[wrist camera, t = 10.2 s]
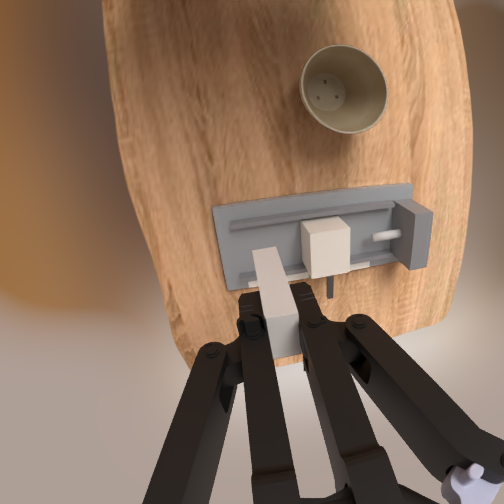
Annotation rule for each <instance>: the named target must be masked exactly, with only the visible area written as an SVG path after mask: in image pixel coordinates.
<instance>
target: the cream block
mask: <svg viewBox="0 0 504 504" xmlns="http://www.w3.org/2000/svg"><path fill="white" fill-rule="evenodd" d="M300 231H301V246H302V261H303V263H304V265H305V267H306V269H307V271H308V273H309V275H310V277H311V279H315V278H321V277H326V276H327V298H328V299H330V298H333V278H334V275H338V274H343V273H348V272H350V227H349V226H348V225H347V224H346V223H345V222H344V221H343V220H342V219H341V218H340V217H338V216H337V215H330V216H322V217H315V218H308V219H301V220H300Z"/></svg>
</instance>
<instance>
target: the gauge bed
mask: <svg viewBox="0 0 504 504" xmlns="http://www.w3.org/2000/svg"><path fill="white" fill-rule="evenodd" d="M412 194H413V185H412V184H410V183H399V184H387V185H376V186H365V187H355V188H345V189H336V190H327V191H319V192H310V193H302V194H294V195H287V196H279V197H272V198H265V199H258V200H251V201H244V202H237V203H231V204H224V205H218V206H212V211H213V217H214V222H215V227H216V233H217V238H218V244H219V249H220V254H221V259H222V264H223V269H224V275H225V280H226V285H227V290H228V291H230V290H237V289H243V288H251V287H257V286H258V281H257V275H256V270H255V264H254V258H253V253H252V251H253V250H259V249H264V248H270V247H275V246H276V248H277V251H278V254H279V257H280V260H281V263H282V266H283V268H284V271H285V274H286V277H287V280H288V281H294V280H300V279H306V278H311V277H310V275H309V273H308V271H307V269H306V267H305V265H304V263H303V261H302V246H301V231H300V220H301V219H308V218H315V217H322V216H330V215H337V216H338V217H340V218H341V219H342V220H343V221H344V222H345V223H346V224H347V225H348V226H349V227H350V271H351V270H356V269H362V268H367V267H372V266H377V265H382V264H387V263H392V262H397V261H400V262H401V263H402V264H403V265H404V266H405V267H406V268H407V269H408V270H409V271H410V270H415V269H419V268H423V267H427V261H428V254H429V247H430V239H431V231H432V221H433V212H432V211H431V210H429V209H427V208H426V207H424V206H422V205H420V204H419V203H417V202H415V201H413V200H412Z"/></svg>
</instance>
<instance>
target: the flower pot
mask: <svg viewBox="0 0 504 504" xmlns="http://www.w3.org/2000/svg"><path fill="white" fill-rule="evenodd" d="M323 81H324V82H323ZM299 92H300V96H301V100H302V102H303V104H304V106H305V108H306V110H307V111H308V112H309V114H310V115H311V116H312V117H313V118H314V119H315V120H316V121H317V122H319V123H320V124H322V125H323V126H325V127H326V128H328V129H330V130H333V131H335V132H339V133H344V134H356V133H361V132H364V131H366V130H368V129H370V128H372V127H373V126H374V125H375V124H377V123H378V121H379V120H380V119H381V118H382V116H383V114H384V112H385V110H386V107H387V103H388V85H387V81H386V78H385V75H384V73H383V71H382V70H381V68H380V66H379V65H378V64H377V62H376V61H375V60H374V59H373V58H372V57H371V56H370V55H368V54H367V53H366V52H364V51H362V50H360V49H358V48H356V47H353V46H349V45H343V44H335V45H330V46H326V47H324V48H322V49H320V50H318V51H317V52H315V53H314V54H313V55H312V56H311V57H310V58H309V59H308V61H307V62H306V64H305V65H304V67H303V69H302V72H301V75H300V81H299ZM336 95H337V96H338V97H336ZM318 98H320V99H319V100H318Z"/></svg>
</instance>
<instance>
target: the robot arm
mask: <svg viewBox="0 0 504 504" xmlns="http://www.w3.org/2000/svg"><path fill="white" fill-rule="evenodd" d="M252 253H253V258H254V264H255V270H256V275H257V281H258V287H259V291H256V292H250V293H244V294H241V296H240V298H239V300H238V303H239V315H240V317H239V318H238V320H237V328H238V332H239V337H238V338H237V339H236V340H235V341H233V342H231V343H229V344H227V345H225V346H224V345H223V344H222V343H219V342H210V343H207V344H205V345H204V346H202V347H201V348H200V350H199V351H198V354H197V356H196V359H195V362H194V364H193V367H192V370H191V372H190V375H189V378H188V380H187V383H186V386H185V388H184V391H183V394H182V396H181V399H180V401H179V405H178V407H177V410H176V413H175V415H174V418H173V421H172V423H171V426H170V429H169V431H168V434H167V437H166V439H165V442H164V445H163V448H162V451H161V453H160V456H159V459H158V462H157V464H156V467H155V470H154V472H153V475H152V478H151V481H150V484H149V486H148V489H147V492H146V495H145V498H144V500H143V503H142V504H209V500H210V496H211V492H212V488H213V484H214V480H215V476H216V472H217V468H218V464H219V460H220V456H221V452H222V448H223V444H224V440H225V436H226V432H227V428H228V424H229V419H230V415H231V411H232V407H233V403H234V399H235V394H236V390H237V384H240V383H242V382H244V391H245V402H246V412H247V423H248V433H249V443H250V453H251V463H252V476H251V483H252V493H253V502H254V504H439V503H437V502H435V501H433V500H431V499H429V498H427V497H425V496H422V495H421V494H419V493H417V492H415V491H413V490H411V489H409V488H407V487H405V486H403V485H401V484H398V483H397V480H396V477H395V474H394V471H393V469H392V466H391V463H390V461H389V458H388V455H387V453H386V451H385V449H384V448H383V447H382V446H379V444H378V442H377V440H376V438H375V435H374V432H373V429H372V427H371V424H370V422H369V419H368V416H367V414H366V411H365V408H364V406H363V403H362V401H361V398H360V396H359V393H358V391H357V388H356V386H355V383H354V381H353V378H352V376H351V374H352V375H353V376H354V378H355V379H356V380H357V381H358V383H359V384H360V385H361V387H362V388H363V389H364V390H365V392H366V393H367V394H368V395H369V397H370V398H371V399H372V400H373V402H374V403H375V404H376V406H377V407H378V408H379V409H380V411H381V412H382V413H383V414H384V416H385V417H386V418H387V420H389V422H390V423H391V425H392V426H393V427H394V428H395V429H396V431H397V432H398V434H399V435H400V436H401V437H402V439H403V440H404V441H405V442H406V444H407V445H408V446H409V448H410V449H411V450H412V451H413V453H414V454H415V455H416V456H417V458H418V459H419V460H420V461H421V463H422V464H423V465H424V466H425V468H426V469H427V470H428V471H429V472H430V473H431V474H432V475H433V476H434V477H435V478H436V479H437V480H439V481H440V482H442V486H441V493H442V496H443V498H445V499H446V500H447V501H448V502H449V504H491V503H492V501H493V499H494V497H495V496H496V494H497V491H498V490H499V488H500V486H501V485H502V483H503V482H504V440H502V439H500V438H498V437H496V436H493V435H492V434H490V433H488V432H485V431H483V430H482V429H480V428H479V427H478V426H477V425H476V424H475V423H474V422H473V421H472V420H471V419H470V418H469V417H468V415H467V414H465V412H464V411H463V410H462V409H461V408H460V407H459V406H458V405H457V404H456V403H455V402H454V401H453V400H452V399H451V398H450V397H449V396H448V394H446V392H445V391H443V389H442V388H441V387H440V386H439V385H438V384H437V383H436V382H435V381H434V380H433V379H432V378H431V377H430V376H429V375H428V374H427V373H426V372H425V371H424V370H423V369H422V368H421V367H420V366H419V365H418V364H417V363H416V362H415V361H414V360H413V359H412V358H411V357H410V356H409V355H408V354H407V353H406V352H405V351H404V350H403V349H402V348H401V347H400V346H399V345H398V344H397V343H396V342H395V341H394V340H393V339H392V338H391V337H390V336H389V335H388V334H387V333H386V332H385V331H384V330H383V329H382V328H381V327H380V326H379V325H378V324H377V323H376V322H375V321H374V320H372V319H371V318H370V317H369V316H367V315H364V314H354V315H351V316H350V317H348V318H347V320H346V322H334V321H330V320H328V319H327V318H326V316H324V315H323V314H322V312H321V310H320V307H319V305H318V303H317V300H316V298H315V296H314V293H313V291H312V289H311V287H310V286H309V285H308V284H307V283H305V282H301V283H296V284H290V285H289V283H288V280H287V277H286V274H285V271H284V268H283V266H282V263H281V260H280V257H279V254H278V251H277V248H276V246H275V247H270V248H264V249H259V250H253V251H252ZM301 350H302V353H303V364H304V371H306V373H307V377H308V380H309V384H310V388H311V391H312V395H313V398H314V402H315V406H316V410H317V413H318V417H319V421H320V425H321V428H322V432H323V436H324V440H325V444H326V447H327V451H328V455H329V459H330V463H331V467H332V471H333V474H334V479H335V488H336V493H335V494H333V495H331V496H328V497H326V498H300V495H299V489H298V485H297V479H296V474H295V469H294V465H293V460H292V454H291V449H290V444H289V438H288V433H287V428H286V423H285V418H284V412H283V407H282V403H281V397H280V392H279V386H278V382H277V376H276V371H275V365H274V360H273V359H278V358H283V357H288V356H293V355H298V354H302V353H301Z"/></svg>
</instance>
